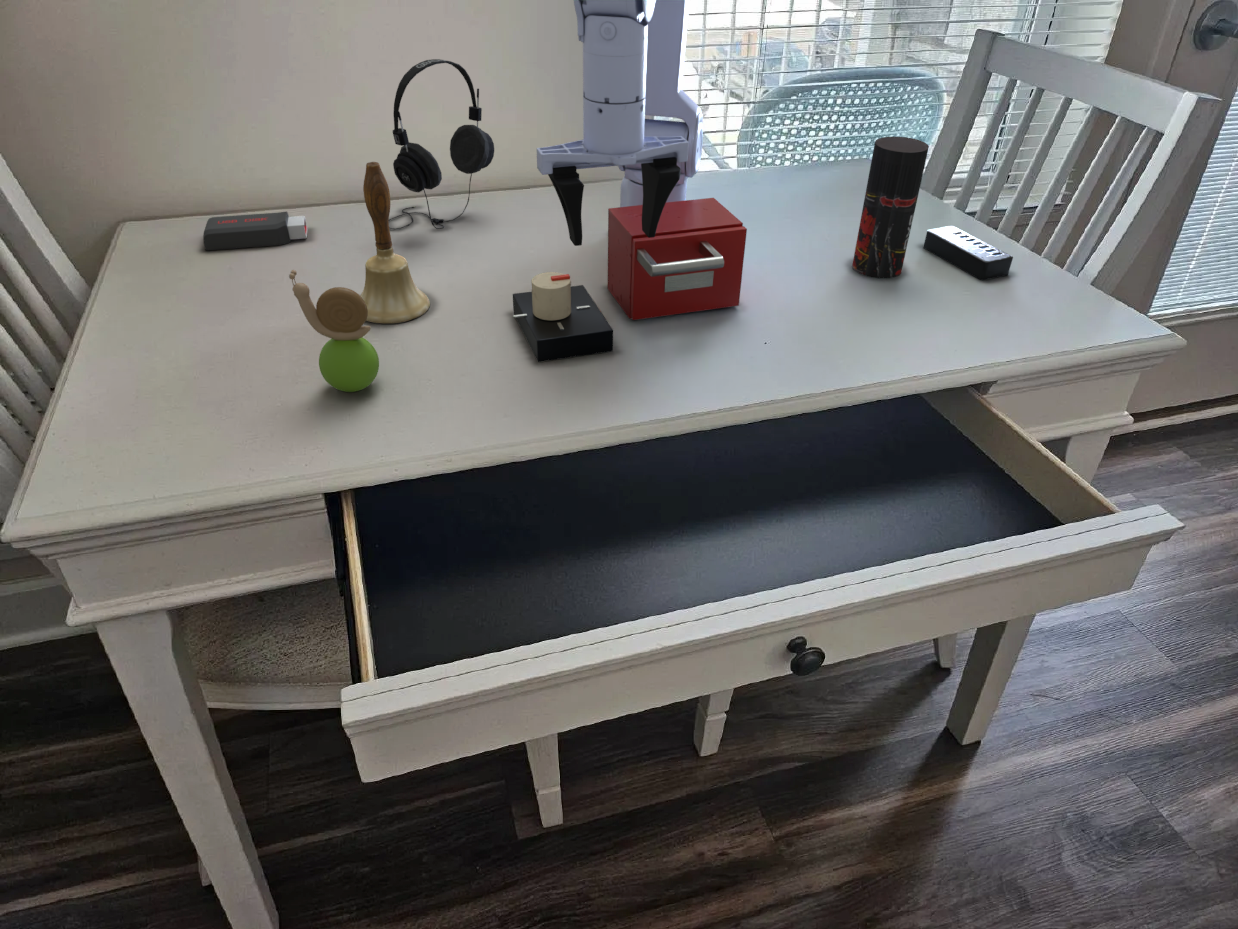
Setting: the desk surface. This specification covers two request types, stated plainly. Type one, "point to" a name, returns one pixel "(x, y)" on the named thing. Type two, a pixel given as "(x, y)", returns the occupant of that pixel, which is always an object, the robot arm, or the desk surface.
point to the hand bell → (387, 262)
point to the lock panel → (564, 328)
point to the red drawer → (687, 272)
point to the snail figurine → (341, 336)
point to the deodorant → (889, 206)
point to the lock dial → (551, 296)
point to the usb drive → (253, 230)
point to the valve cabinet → (672, 221)
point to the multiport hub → (968, 252)
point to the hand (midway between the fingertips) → (612, 237)
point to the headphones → (466, 145)
